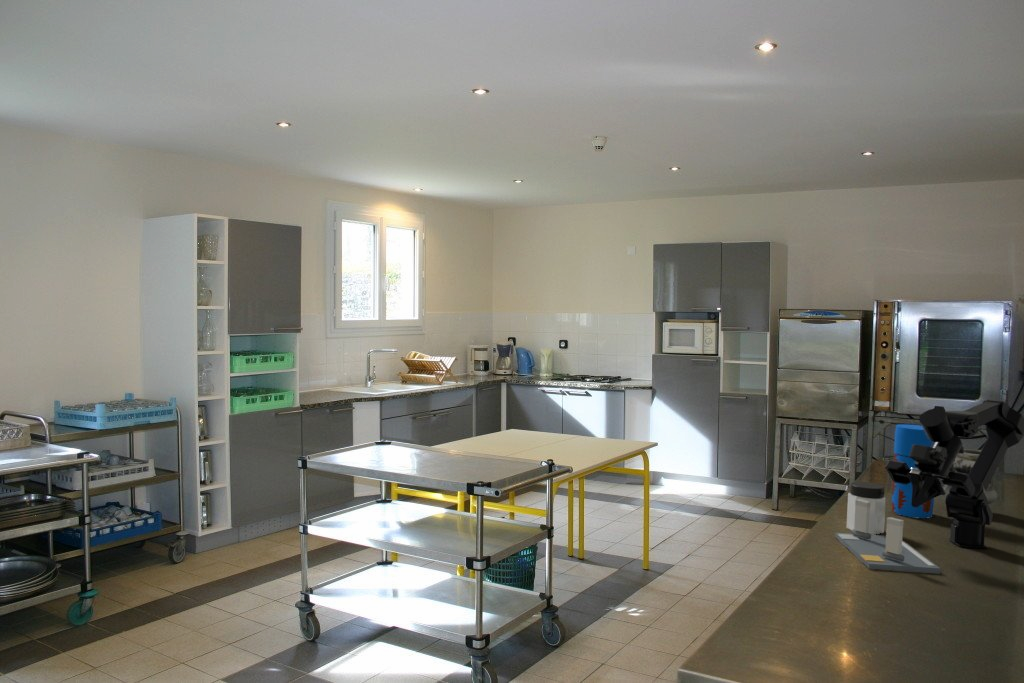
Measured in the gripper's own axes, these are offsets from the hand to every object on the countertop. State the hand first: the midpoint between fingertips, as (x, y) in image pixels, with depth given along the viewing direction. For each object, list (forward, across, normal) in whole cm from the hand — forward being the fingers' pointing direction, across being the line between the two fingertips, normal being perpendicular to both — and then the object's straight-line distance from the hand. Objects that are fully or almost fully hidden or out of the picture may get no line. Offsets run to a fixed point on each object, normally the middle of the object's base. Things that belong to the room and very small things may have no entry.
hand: (913, 506), depth 181 cm
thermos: (-22, -24, +40) cm, 52 cm away
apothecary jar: (-35, -17, +53) cm, 66 cm away
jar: (-1, -20, +19) cm, 28 cm away
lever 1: (+6, -14, +9) cm, 18 cm away
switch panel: (+10, -6, +8) cm, 14 cm away
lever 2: (+13, 0, +2) cm, 13 cm away
